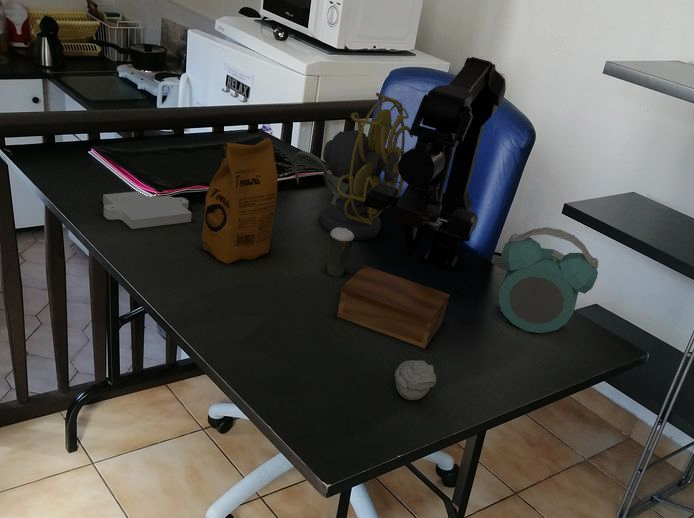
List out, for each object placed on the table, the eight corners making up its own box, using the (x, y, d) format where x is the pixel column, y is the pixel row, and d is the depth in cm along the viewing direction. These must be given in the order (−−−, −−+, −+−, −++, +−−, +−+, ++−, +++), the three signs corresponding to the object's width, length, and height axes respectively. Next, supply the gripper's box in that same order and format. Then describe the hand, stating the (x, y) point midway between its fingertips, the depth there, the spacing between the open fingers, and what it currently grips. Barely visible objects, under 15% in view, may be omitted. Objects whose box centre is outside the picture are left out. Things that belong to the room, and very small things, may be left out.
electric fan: (350, 256, 156) (379, 111, 141) (231, 203, 168) (246, 65, 153) (409, 227, 176) (441, 98, 161) (299, 182, 188) (319, 57, 173)
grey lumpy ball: (402, 413, 112) (412, 375, 108) (382, 386, 117) (392, 348, 113) (437, 410, 114) (449, 372, 111) (416, 383, 120) (427, 346, 116)
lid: (430, 323, 126) (431, 319, 126) (340, 291, 130) (341, 287, 130) (448, 298, 136) (449, 294, 135) (364, 269, 139) (364, 265, 139)
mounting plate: (171, 196, 165) (171, 188, 164) (201, 220, 157) (202, 211, 156) (91, 204, 154) (91, 195, 153) (119, 230, 146) (120, 221, 145)
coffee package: (193, 245, 146) (203, 134, 135) (245, 236, 155) (258, 130, 144) (223, 267, 141) (235, 153, 130) (275, 256, 149) (291, 148, 138)
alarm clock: (574, 328, 147) (610, 234, 137) (570, 349, 139) (608, 251, 129) (488, 300, 150) (518, 206, 140) (479, 320, 142) (510, 222, 132)
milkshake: (347, 281, 146) (357, 233, 141) (321, 274, 146) (329, 226, 141) (352, 271, 150) (362, 225, 145) (326, 265, 150) (335, 218, 145)
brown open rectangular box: (424, 348, 129) (432, 322, 127) (336, 316, 133) (342, 290, 131) (441, 323, 138) (448, 298, 136) (358, 294, 142) (363, 269, 139)
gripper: (361, 165, 120) (344, 253, 128) (472, 200, 116) (448, 289, 124) (385, 150, 129) (367, 233, 137) (489, 181, 125) (465, 265, 133)
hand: (410, 255), depth 133 cm, fingers closed
